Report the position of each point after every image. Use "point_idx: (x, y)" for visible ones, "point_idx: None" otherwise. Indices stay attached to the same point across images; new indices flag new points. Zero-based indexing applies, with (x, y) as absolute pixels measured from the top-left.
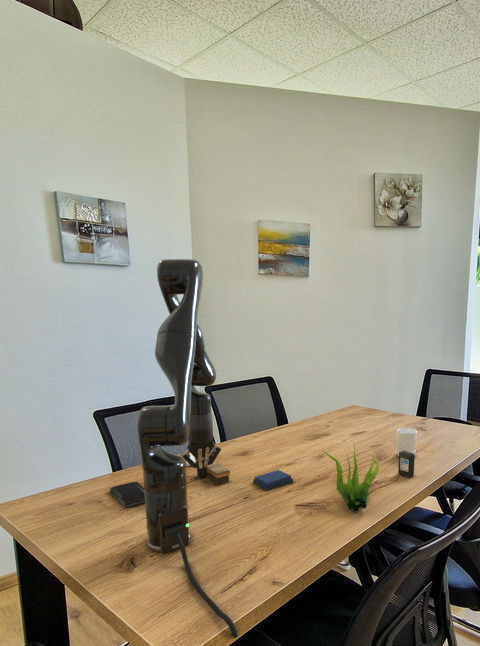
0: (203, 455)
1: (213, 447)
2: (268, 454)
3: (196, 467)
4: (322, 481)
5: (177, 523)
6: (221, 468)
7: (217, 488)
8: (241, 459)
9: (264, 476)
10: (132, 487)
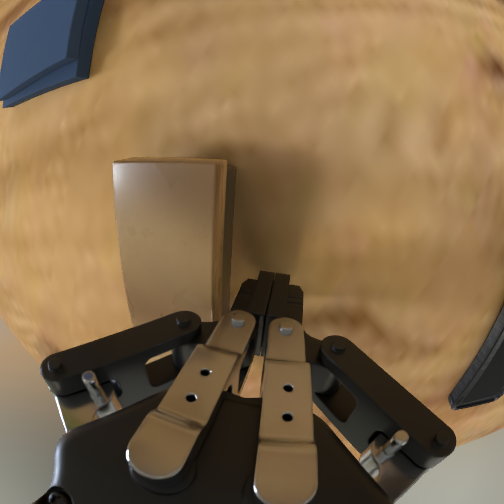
0: (232, 408)
1: (88, 423)
2: (10, 298)
3: (318, 342)
4: (3, 14)
5: None
6: (143, 239)
7: (264, 116)
8: (65, 335)
9: (45, 44)
10: (487, 377)
